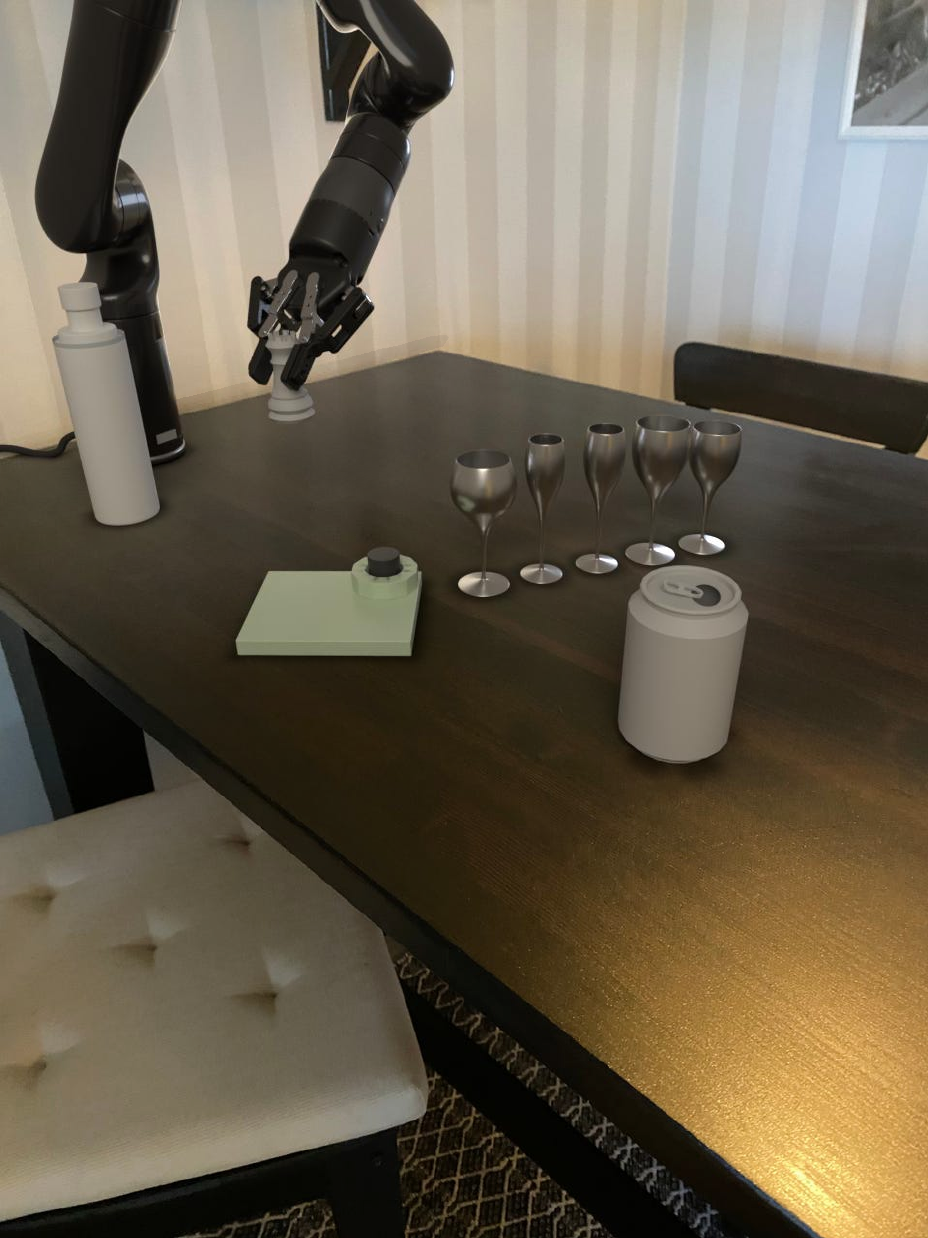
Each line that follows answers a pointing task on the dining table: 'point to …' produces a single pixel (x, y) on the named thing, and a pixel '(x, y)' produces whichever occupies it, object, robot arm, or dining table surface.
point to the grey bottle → (104, 410)
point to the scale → (334, 613)
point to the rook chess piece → (285, 402)
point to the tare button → (384, 562)
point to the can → (681, 663)
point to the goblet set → (596, 486)
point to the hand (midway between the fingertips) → (272, 382)
